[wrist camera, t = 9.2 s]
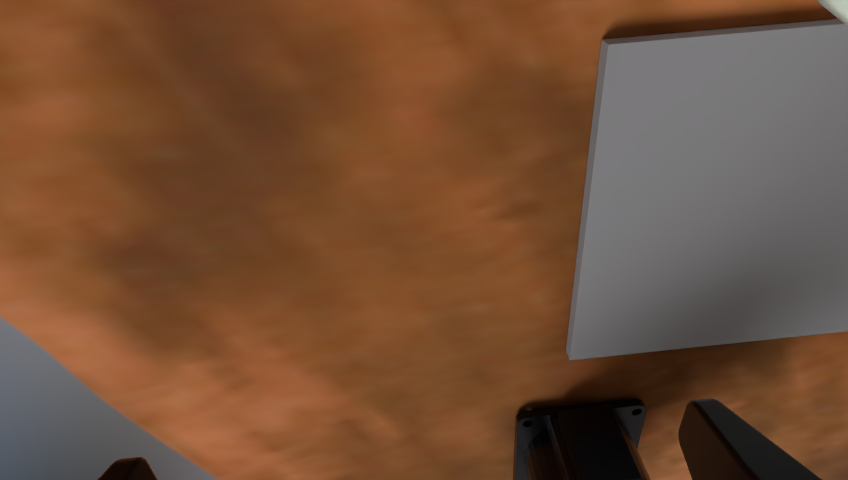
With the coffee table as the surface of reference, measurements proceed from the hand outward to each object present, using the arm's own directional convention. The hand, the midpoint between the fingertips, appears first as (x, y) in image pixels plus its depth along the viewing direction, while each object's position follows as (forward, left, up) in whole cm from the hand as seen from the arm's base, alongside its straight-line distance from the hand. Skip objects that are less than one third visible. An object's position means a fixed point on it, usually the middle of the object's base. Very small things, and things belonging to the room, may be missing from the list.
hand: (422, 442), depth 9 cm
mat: (-4, -14, -12) cm, 19 cm away
